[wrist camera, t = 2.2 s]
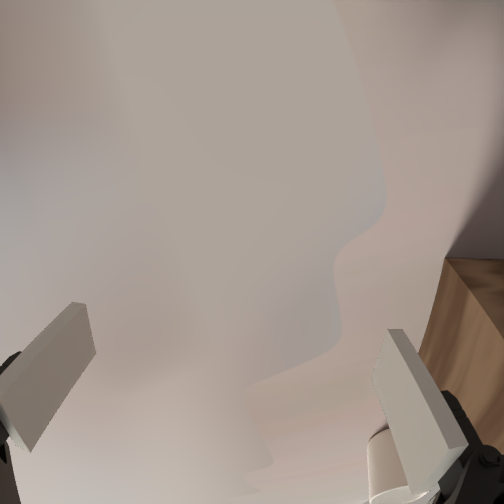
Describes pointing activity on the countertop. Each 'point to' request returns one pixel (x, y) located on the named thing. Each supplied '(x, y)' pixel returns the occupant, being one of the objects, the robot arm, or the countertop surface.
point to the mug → (387, 472)
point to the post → (470, 342)
